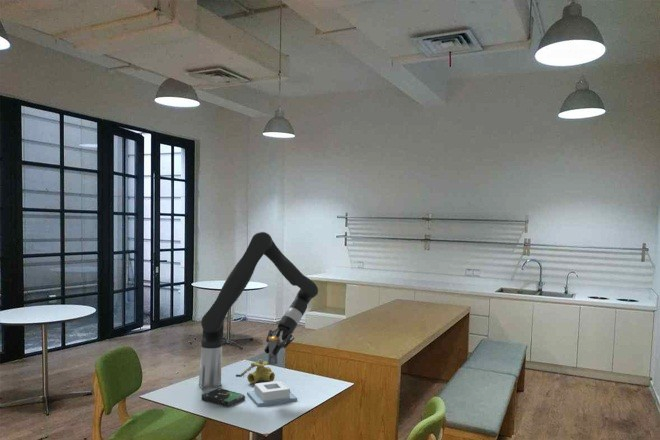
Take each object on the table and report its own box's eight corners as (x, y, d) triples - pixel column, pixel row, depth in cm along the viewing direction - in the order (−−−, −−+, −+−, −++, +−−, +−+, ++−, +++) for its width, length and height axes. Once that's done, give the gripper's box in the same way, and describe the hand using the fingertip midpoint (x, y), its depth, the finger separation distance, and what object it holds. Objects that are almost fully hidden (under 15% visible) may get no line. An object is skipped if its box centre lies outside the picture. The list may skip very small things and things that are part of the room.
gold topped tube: (269, 365, 192) (270, 338, 192) (266, 362, 195) (267, 336, 196) (278, 364, 193) (279, 337, 194) (275, 361, 197) (276, 335, 197)
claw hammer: (248, 380, 220) (248, 377, 220) (235, 377, 221) (235, 375, 221) (264, 367, 240) (264, 364, 240) (252, 364, 241) (252, 362, 241)
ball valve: (261, 376, 222) (262, 355, 223) (279, 380, 217) (279, 358, 218) (244, 383, 211) (245, 361, 212) (262, 387, 206) (263, 365, 207)
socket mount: (257, 406, 183) (258, 394, 184) (246, 394, 197) (247, 383, 197) (297, 400, 191) (297, 389, 191) (284, 389, 204) (284, 378, 205)
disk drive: (200, 401, 189) (228, 408, 182) (201, 394, 189) (228, 401, 182) (218, 394, 198) (245, 400, 191) (218, 387, 198) (245, 393, 191)
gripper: (274, 313, 205) (253, 345, 195) (298, 317, 196) (277, 351, 186) (282, 323, 209) (262, 355, 199) (306, 327, 200) (286, 361, 190)
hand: (269, 353), depth 193 cm, fingers closed on gold topped tube, 4 cm apart
